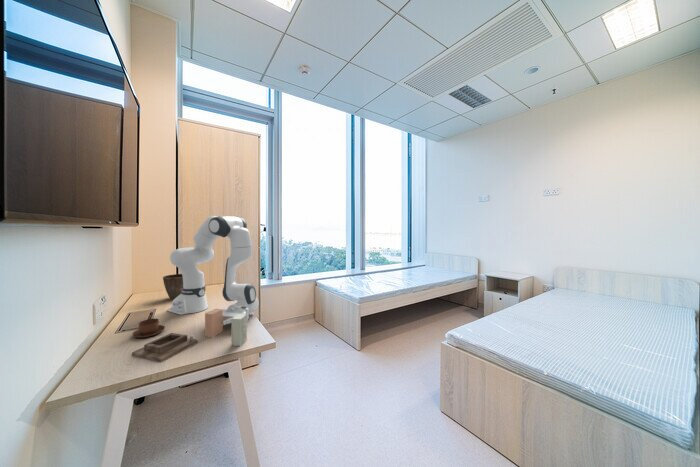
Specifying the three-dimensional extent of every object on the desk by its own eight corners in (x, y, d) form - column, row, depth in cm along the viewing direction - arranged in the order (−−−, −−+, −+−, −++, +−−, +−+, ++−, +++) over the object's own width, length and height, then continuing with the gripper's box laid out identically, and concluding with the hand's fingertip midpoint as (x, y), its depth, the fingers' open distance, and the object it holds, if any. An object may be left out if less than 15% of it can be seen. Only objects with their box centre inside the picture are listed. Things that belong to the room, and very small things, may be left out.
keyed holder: (131, 355, 98) (131, 346, 97) (170, 337, 113) (170, 329, 113) (161, 361, 93) (161, 352, 93) (197, 342, 109) (197, 334, 109)
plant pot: (163, 297, 173) (162, 275, 173) (188, 293, 182) (188, 272, 182) (163, 302, 161) (162, 279, 161) (189, 298, 170) (189, 276, 170)
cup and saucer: (139, 330, 120) (138, 318, 120) (168, 327, 124) (167, 315, 124) (127, 341, 109) (127, 328, 109) (159, 337, 113) (159, 324, 113)
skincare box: (238, 339, 112) (237, 313, 111) (247, 339, 112) (247, 313, 111) (230, 346, 106) (230, 318, 105) (240, 346, 105) (240, 318, 105)
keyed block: (205, 336, 115) (204, 313, 114) (216, 330, 121) (215, 308, 121) (212, 337, 114) (211, 314, 113) (222, 331, 120) (222, 309, 120)
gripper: (219, 304, 133) (197, 313, 120) (251, 308, 128) (231, 318, 115) (219, 315, 134) (197, 325, 120) (251, 320, 128) (231, 331, 115)
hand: (214, 322), depth 117 cm, fingers open, 8 cm apart
